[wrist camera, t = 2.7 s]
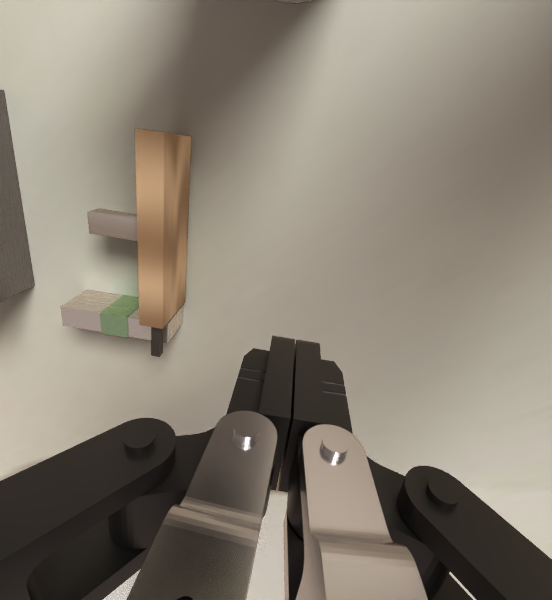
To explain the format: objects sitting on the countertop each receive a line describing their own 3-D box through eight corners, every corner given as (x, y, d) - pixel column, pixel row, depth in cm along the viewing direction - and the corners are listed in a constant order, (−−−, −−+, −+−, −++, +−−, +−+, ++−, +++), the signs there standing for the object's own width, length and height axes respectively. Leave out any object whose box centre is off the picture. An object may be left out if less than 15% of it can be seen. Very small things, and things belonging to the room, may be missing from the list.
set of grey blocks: (-87, 76, 23) (-256, 43, 16) (189, 119, 22) (137, 104, 15) (-35, 287, 29) (-140, 328, 22) (182, 323, 28) (143, 376, 22)
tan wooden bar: (107, 123, 22) (61, 116, 18) (191, 136, 22) (164, 132, 18) (118, 320, 28) (85, 350, 24) (183, 331, 28) (162, 363, 24)
